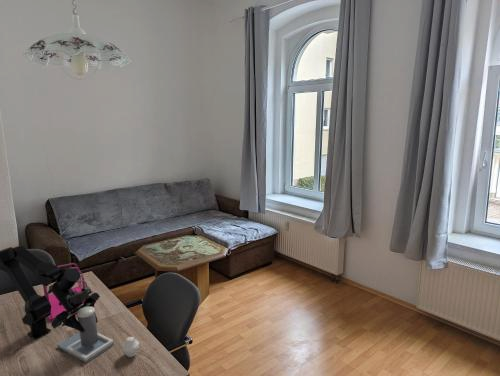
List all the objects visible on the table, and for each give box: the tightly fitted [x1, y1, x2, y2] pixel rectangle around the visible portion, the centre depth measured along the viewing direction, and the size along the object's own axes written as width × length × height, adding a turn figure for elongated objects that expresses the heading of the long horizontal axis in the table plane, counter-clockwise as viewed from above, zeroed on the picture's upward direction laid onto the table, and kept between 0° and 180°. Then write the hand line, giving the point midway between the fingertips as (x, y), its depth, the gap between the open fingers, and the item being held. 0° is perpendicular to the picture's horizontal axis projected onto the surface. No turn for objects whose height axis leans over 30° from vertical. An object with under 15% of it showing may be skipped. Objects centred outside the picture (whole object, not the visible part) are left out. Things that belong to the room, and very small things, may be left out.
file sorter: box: [42, 262, 88, 323], centre depth 167 cm, size 17×25×16 cm
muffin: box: [121, 336, 140, 358], centre depth 131 cm, size 6×6×7 cm
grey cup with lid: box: [76, 306, 98, 347], centre depth 133 cm, size 6×6×13 cm
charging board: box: [56, 331, 115, 364], centre depth 137 cm, size 18×12×2 cm, turn 59°
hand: (90, 326), depth 133 cm, fingers closed on grey cup with lid, 6 cm apart
